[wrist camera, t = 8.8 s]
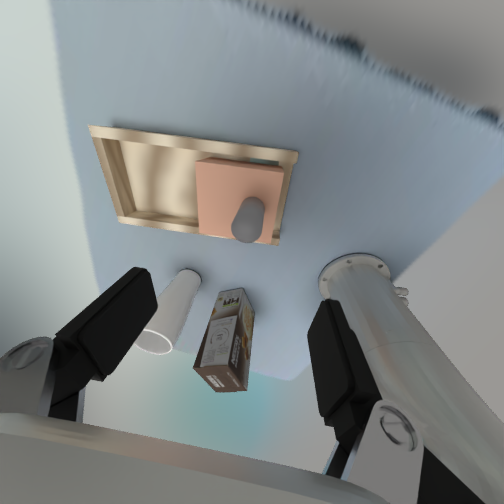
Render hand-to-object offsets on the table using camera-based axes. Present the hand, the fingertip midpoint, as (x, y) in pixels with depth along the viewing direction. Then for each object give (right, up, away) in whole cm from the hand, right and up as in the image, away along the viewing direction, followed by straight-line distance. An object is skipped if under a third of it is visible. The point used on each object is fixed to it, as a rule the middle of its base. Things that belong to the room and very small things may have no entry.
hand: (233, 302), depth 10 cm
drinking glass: (-13, -3, +30) cm, 32 cm away
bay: (-7, +13, +19) cm, 24 cm away
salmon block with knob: (0, +12, +17) cm, 21 cm away
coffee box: (-2, -9, +33) cm, 34 cm away
